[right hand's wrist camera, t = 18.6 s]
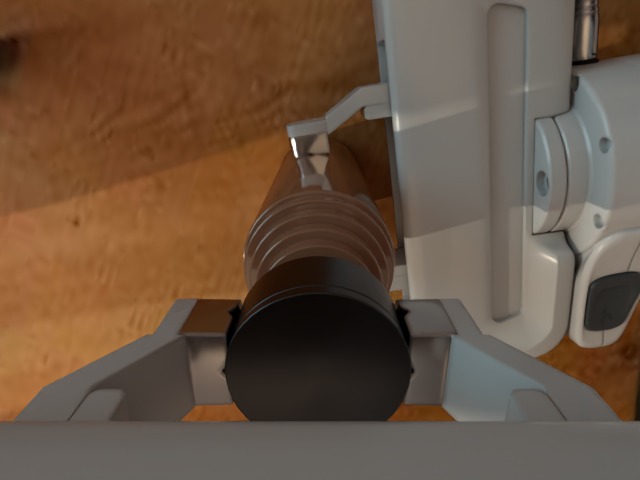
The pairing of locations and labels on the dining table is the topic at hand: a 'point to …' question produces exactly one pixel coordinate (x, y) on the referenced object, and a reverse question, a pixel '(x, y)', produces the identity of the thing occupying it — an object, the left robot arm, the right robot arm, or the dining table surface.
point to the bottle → (319, 217)
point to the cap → (318, 346)
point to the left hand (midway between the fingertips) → (301, 205)
